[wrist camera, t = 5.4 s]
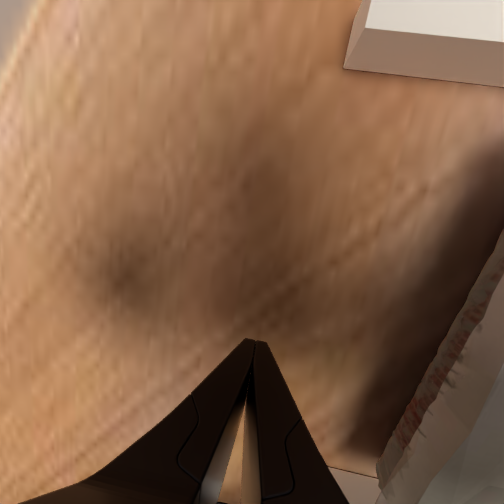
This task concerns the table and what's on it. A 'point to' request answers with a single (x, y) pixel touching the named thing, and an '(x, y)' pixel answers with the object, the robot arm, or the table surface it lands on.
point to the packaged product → (456, 410)
